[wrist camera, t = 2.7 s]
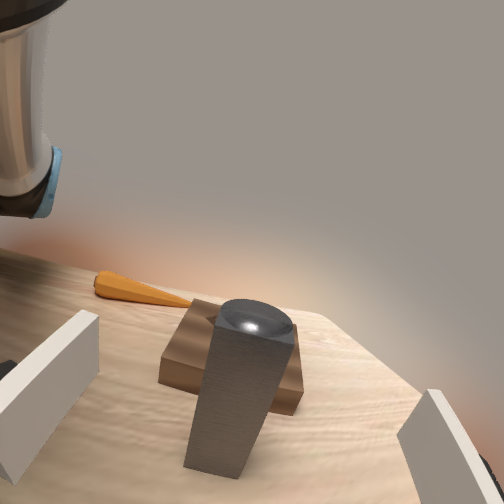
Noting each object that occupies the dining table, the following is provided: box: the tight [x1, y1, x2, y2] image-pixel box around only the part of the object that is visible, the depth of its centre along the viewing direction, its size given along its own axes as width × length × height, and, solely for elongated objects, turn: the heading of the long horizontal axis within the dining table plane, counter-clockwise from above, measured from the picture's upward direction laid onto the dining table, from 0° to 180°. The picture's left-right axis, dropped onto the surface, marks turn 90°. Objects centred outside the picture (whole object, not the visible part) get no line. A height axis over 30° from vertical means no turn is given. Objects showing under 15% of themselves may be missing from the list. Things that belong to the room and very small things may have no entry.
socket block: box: [158, 298, 304, 416], centre depth 40 cm, size 16×16×4 cm
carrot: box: [94, 271, 192, 308], centre depth 50 cm, size 20×4×4 cm, turn 104°
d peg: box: [183, 299, 295, 479], centre depth 23 cm, size 5×5×16 cm
